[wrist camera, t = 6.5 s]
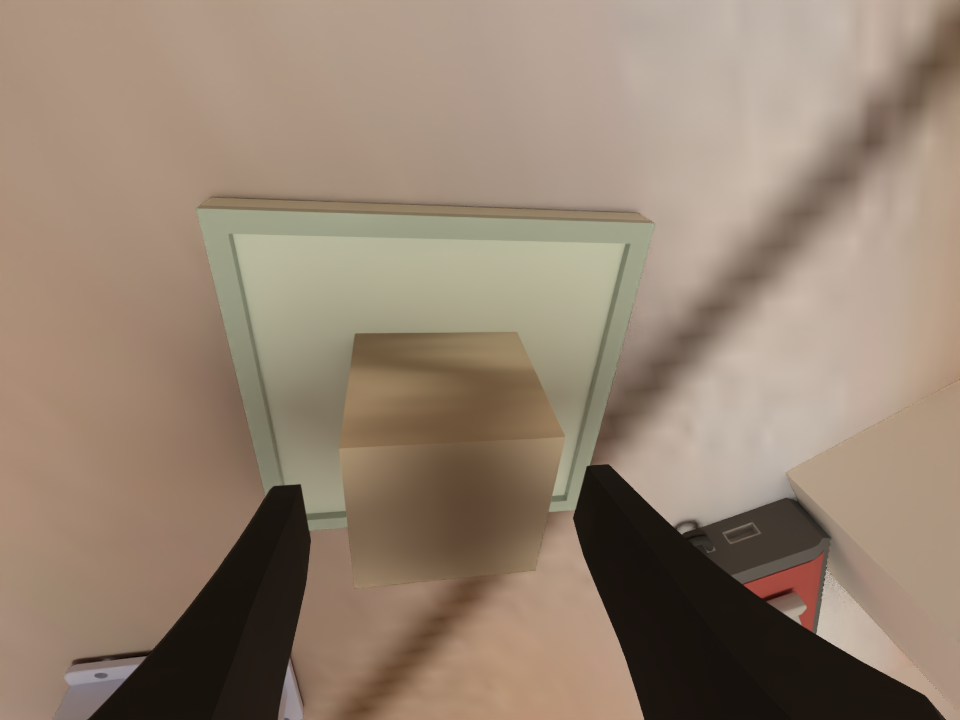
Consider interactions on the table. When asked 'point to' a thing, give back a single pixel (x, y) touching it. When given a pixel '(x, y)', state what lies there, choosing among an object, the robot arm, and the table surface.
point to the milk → (898, 528)
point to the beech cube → (445, 457)
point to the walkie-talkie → (772, 556)
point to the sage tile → (412, 313)
